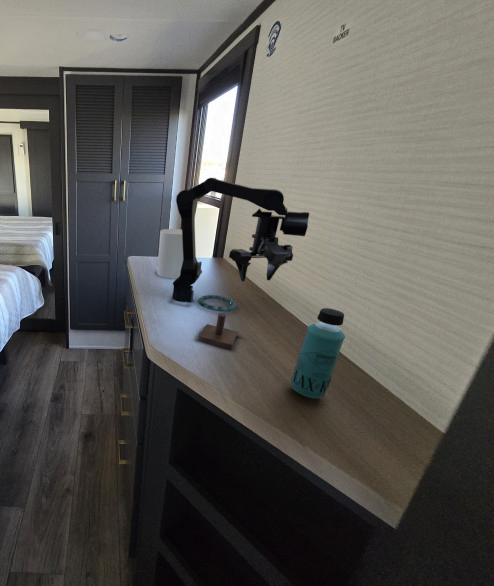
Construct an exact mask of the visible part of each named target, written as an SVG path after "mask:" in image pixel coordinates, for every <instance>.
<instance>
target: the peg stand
mask: <svg viewBox="0 0 494 586" xmlns="http://www.w3.org/2000/svg"><path fill="white" fill-rule="evenodd" d="M226 317H227V315H226V314H225V313H221V312H219V313H218V314H217V320H216V325H212V324H210V323H207V324H206V325H205V326H204V328H203V329H202V331H201V332H200V334H199V335H198V339H197V341H199V342H202V343H205V344H210V345H214V346H217V347H220V348H224V349H228V350H232V349H233V347H234V344H235V342H236V340H237V338H238V334H239V331H237V330H233V329H229V328H225V323H226Z"/></svg>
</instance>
